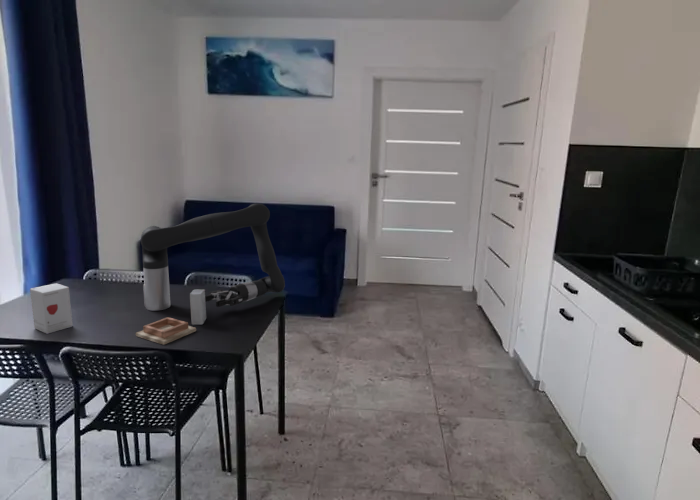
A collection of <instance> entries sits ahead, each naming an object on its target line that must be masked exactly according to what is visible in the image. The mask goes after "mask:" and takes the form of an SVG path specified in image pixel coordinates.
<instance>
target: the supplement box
mask: <svg viewBox="0 0 700 500" xmlns="http://www.w3.org/2000/svg"><path fill="white" fill-rule="evenodd" d="M29 290H30V291H29V292H30V299H31V301H30V302H31V310H32V319H33V326H34V327H33V328H34V329H35V330H38V331H40V332H42V333H44V334H51V333H55V332H59V331H61V330H65V329H67V328H72V327H73V315H72V314H73V313H72V306H71V295H70V287H69V286H66V285H63V284H60V283H57V282H56V283H51V284H47V285H46V284H45V285H42V286H37V287H31V288H29Z"/></svg>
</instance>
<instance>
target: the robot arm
mask: <svg viewBox="0 0 700 500" xmlns="http://www.w3.org/2000/svg"><path fill="white" fill-rule="evenodd" d="M270 216H271V212H270V210H269V208H268V207H267V206H266V205H265V204H263V203H257V202H256V203H251V204H250V205H249V206H247V207H245V208H243V209H239V210H235V211H226V212H224V211H223V212H214V213H209V214H205V215H202V216H196V217H194V218H191V219H188V220H186V221H184V222H182V223H180V224H177V225H173V226H168V227H160V226H157V225H151V226H147V227H145V229H144V230H143V231H142V233H141V235H140V236H141V237H140V244H141V250H142V270H143V281H144V284H143V285H142V289H143V302H144V307H145V309H146V310H147V311H153V312H154V311H155V312H156V311H162V310H163V311H164V310H166V309H168V308H170V307H171V291H170V277H169V259H168V248H170V247H172V246H176V245H178V244H184V243H189V242H194V241H199V240H205V239H208V238H213V237H216V236H220V235H223V234H226V233H229V232H231V231H232V232H233V231H235V230H238V229H243V228H248V227H250V229H251V231H252V234H253V237H254V241H255V245H256V250H257V251H256V252H257V254H258V260H259V264H260V268H261V270H262V272H263V273H266V274H267V276H264V277H261V278H260V279H256V280H253V281H252V280H251V281H248V282H242V283H238V284H235V285H232V286H230V287H229V290H223V289H221V288H220V289H217V290H213V291H209V293H208V294H207V295H205V303H206V302H209V301H210V302H211V301H215V300H216V301H215V307H217V308H219V307H223V306H230V307H233V306H236V305H238V304H242V303H245V302H248V301H252V300H253V299H256V298H260V297H262V296H264V295H266V294H267V293H281V292H283V291H284V289H285V287H286V284H285V283H286V281H285V278H284V275H283V273H282V271H281V269H280V267H279V266H278V262H277V257H276V253H275V250H274V246H273V244H272V242H271V239H270V236H269V232H268V226H267V224H268V223H267V222H268V221H269V219H270Z"/></svg>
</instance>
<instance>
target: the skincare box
mask: <svg viewBox="0 0 700 500" xmlns="http://www.w3.org/2000/svg"><path fill="white" fill-rule="evenodd" d="M205 291H206V289H200V288H199V289H197V288H196V289H195V288H194V289H193V290H192V291H191V292H190V293H189V304H190V318H191V320H190V321H191V325H194V326H195V325H203V324H205V322H206V319H207V309H206V302H205V296H206V292H205Z"/></svg>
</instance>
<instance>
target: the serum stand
mask: <svg viewBox="0 0 700 500" xmlns="http://www.w3.org/2000/svg"><path fill="white" fill-rule="evenodd" d="M142 328H143V329H142V330H139V331H137V332H135V337H138V338H142V339H143V340H144V339H145V340H147V341H150V342H153V343H157V344H158V345H159V344H160V345H166V344H169V343H172V342H174V341H176V340H179V339H181V338H183V337H185V336H188V335H190V334H193V333H194V332H197V328H196V327H193V326H191V325H189V322H188V321H184V320H179V319H176V318H172V317H170V316H169V317H167V316H166V317H164V318H162V319H158V320H157V321H154V322H151V323H148V324H145V325H143V327H142Z"/></svg>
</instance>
